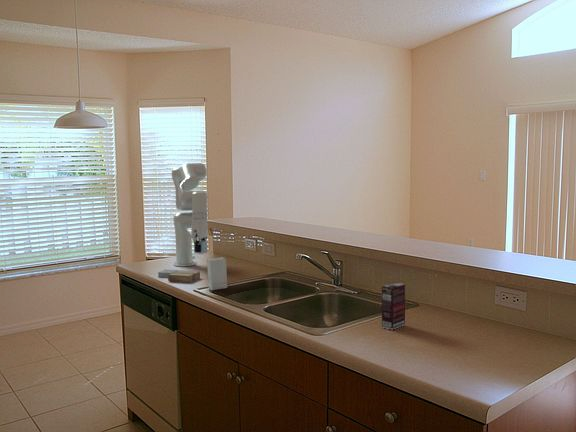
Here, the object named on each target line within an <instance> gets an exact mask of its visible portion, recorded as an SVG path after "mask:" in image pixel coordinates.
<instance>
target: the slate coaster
mask: <svg viewBox="0 0 576 432" xmlns="http://www.w3.org/2000/svg"><path fill="white" fill-rule="evenodd" d="M177 271H179V269H163V270H160V271H158V272H157V274H158V275H157V276H158V278H164V277H168V275H169V274H172V273H174V272H177Z"/></svg>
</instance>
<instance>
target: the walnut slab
mask: <svg viewBox="0 0 576 432" xmlns="http://www.w3.org/2000/svg"><path fill="white" fill-rule="evenodd" d="M200 278H201V271H196V270H183V269H182V270H180V269H179V270H178V271H177V272H174V273H172V274H169V275H168V279H167V280H168V281H172V282H171V283H179V282H181V283H180V284H184V283H185V284H190V283H193V282H194V281H197V280H200Z"/></svg>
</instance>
